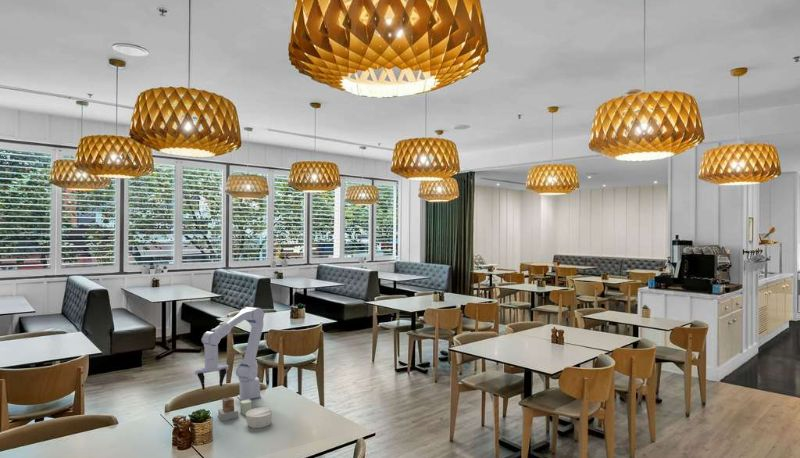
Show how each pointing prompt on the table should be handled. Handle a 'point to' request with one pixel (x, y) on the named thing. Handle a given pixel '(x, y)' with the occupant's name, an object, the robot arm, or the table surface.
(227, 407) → the walnut block
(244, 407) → the sage block
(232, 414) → the plinth block
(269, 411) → the ramekin
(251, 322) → the robot arm
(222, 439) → the table surface
